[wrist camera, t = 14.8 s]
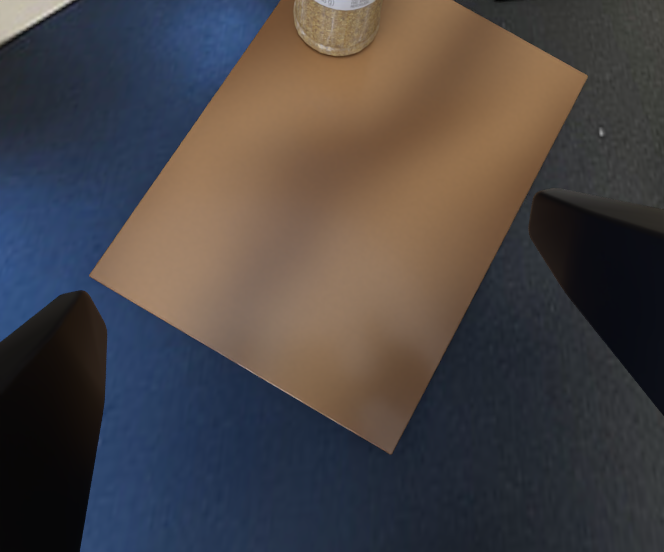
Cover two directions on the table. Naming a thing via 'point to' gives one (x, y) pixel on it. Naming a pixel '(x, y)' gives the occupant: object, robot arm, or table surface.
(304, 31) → the sprinkles bottle
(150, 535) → the table surface
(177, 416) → the table surface
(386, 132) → the cork placemat
